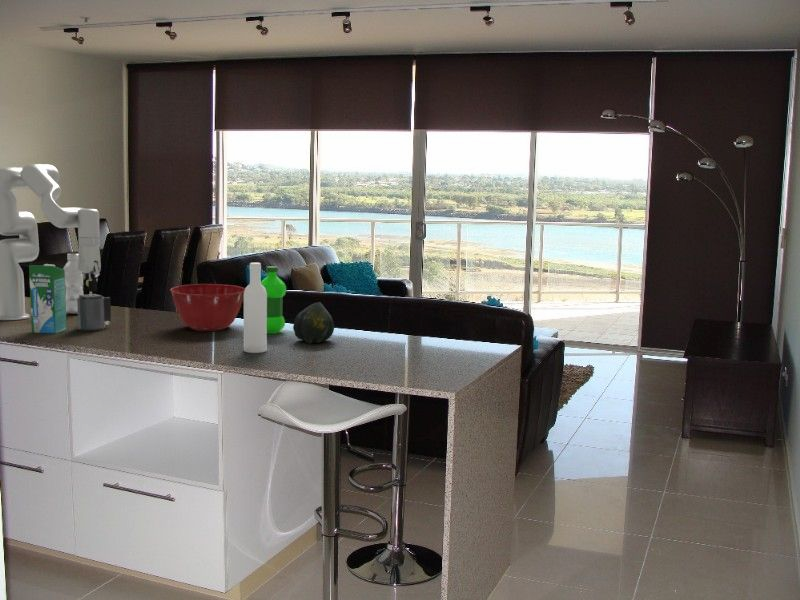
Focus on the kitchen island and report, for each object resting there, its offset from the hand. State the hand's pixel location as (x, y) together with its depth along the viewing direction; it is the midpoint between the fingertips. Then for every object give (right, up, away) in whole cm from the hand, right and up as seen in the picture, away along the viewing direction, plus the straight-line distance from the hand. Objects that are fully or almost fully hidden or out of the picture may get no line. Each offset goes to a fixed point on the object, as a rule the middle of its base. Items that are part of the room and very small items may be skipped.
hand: (90, 290), depth 328 cm
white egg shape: (-1, -13, +13) cm, 18 cm away
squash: (+85, -19, -12) cm, 88 cm away
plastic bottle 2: (+68, -16, +4) cm, 70 cm away
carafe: (+1, -14, +3) cm, 15 cm away
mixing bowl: (+42, -15, +10) cm, 46 cm away
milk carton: (-14, -15, -4) cm, 21 cm away
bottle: (+67, -21, -31) cm, 77 cm away
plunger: (0, -12, +2) cm, 12 cm away
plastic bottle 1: (-19, -10, +35) cm, 41 cm away
